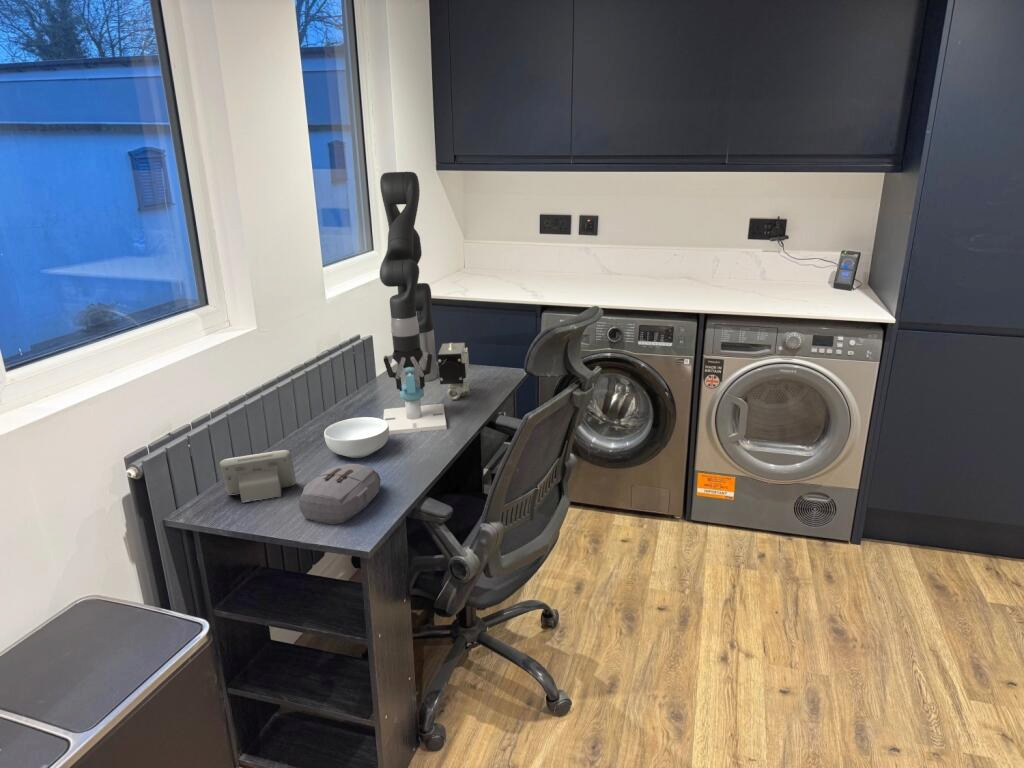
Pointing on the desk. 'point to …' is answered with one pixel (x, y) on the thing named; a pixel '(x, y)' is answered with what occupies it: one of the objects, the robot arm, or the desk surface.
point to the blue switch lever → (411, 386)
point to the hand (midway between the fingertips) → (411, 389)
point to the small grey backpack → (339, 493)
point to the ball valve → (454, 368)
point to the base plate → (421, 422)
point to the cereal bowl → (357, 436)
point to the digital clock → (258, 474)
